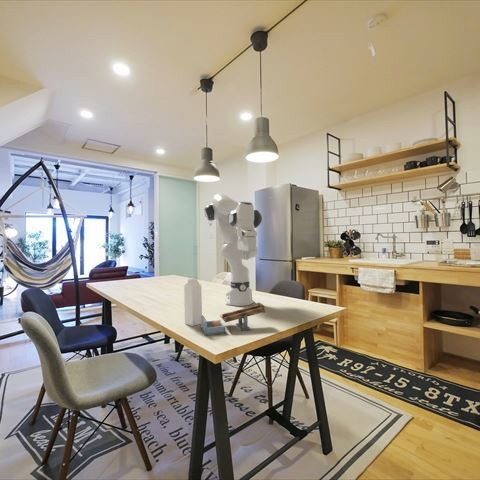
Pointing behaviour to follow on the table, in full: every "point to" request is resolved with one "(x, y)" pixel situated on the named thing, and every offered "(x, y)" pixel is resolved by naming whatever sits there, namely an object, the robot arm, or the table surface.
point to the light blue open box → (211, 327)
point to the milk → (193, 302)
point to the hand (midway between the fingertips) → (246, 259)
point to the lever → (243, 313)
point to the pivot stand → (243, 324)
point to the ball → (216, 324)
